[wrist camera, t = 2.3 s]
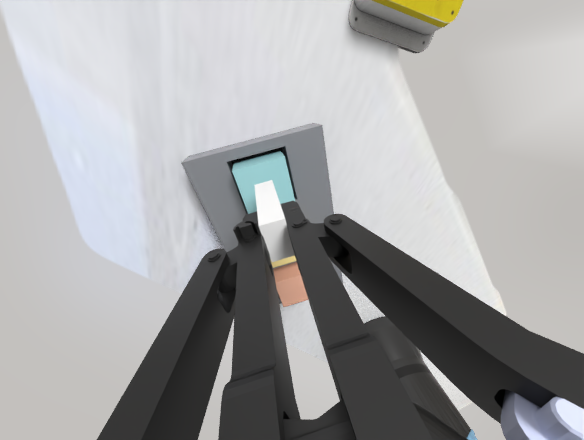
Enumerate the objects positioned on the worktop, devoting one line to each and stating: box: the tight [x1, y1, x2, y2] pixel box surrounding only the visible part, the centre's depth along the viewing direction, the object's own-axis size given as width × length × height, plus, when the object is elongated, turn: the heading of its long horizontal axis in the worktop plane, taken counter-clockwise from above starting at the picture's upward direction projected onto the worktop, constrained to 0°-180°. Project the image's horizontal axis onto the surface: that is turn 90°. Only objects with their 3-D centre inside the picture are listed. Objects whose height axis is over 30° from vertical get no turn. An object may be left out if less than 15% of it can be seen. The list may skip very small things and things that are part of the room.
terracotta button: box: [273, 262, 308, 307], centre depth 29 cm, size 5×5×3 cm
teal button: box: [232, 151, 295, 214], centre depth 21 cm, size 5×5×3 cm
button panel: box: [182, 123, 343, 304], centre depth 27 cm, size 23×14×3 cm, turn 12°
